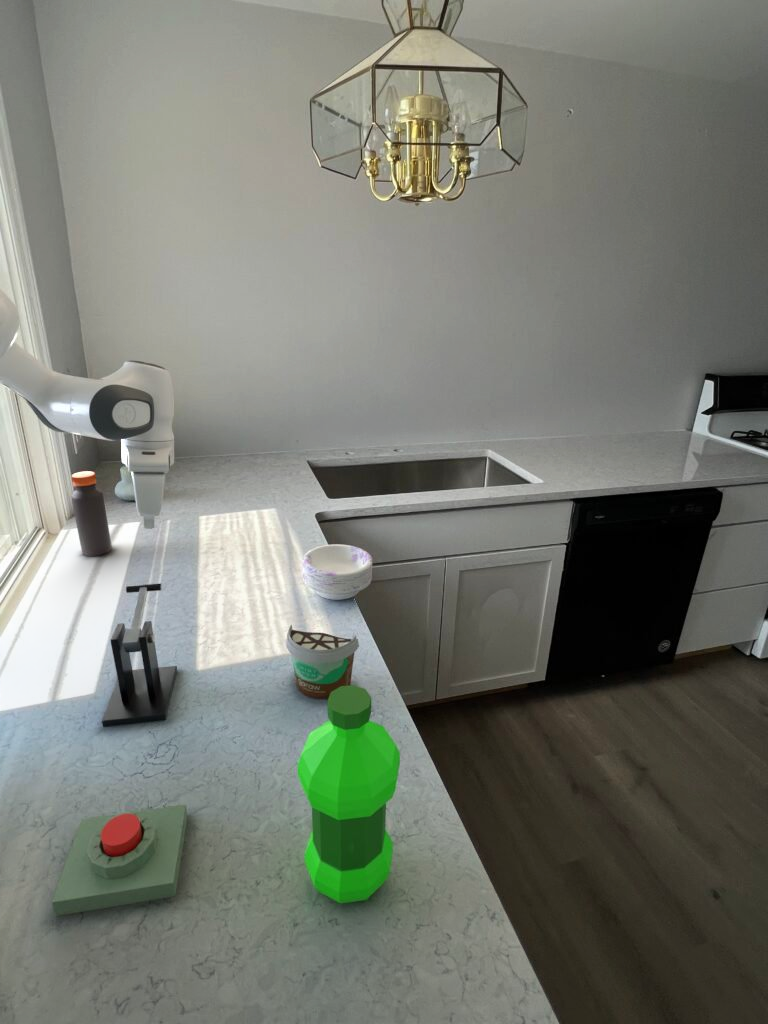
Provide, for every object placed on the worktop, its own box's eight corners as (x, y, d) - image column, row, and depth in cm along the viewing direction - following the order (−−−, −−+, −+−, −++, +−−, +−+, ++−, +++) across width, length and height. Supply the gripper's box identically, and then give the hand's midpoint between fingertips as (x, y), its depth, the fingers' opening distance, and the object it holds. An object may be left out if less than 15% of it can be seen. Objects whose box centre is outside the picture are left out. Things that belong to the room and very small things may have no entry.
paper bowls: (385, 586, 125) (386, 554, 123) (343, 615, 114) (343, 581, 111) (332, 567, 133) (332, 537, 130) (288, 593, 122) (287, 560, 119)
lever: (128, 591, 95) (126, 581, 93) (162, 589, 96) (160, 579, 94) (113, 653, 85) (110, 644, 83) (152, 650, 86) (149, 640, 84)
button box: (55, 916, 58) (48, 890, 57) (84, 831, 68) (78, 807, 66) (175, 896, 61) (171, 871, 59) (187, 817, 70) (184, 793, 68)
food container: (275, 696, 91) (272, 645, 87) (290, 673, 96) (288, 624, 93) (348, 710, 88) (348, 658, 84) (358, 685, 94) (359, 635, 90)
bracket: (122, 676, 94) (110, 611, 90) (177, 671, 96) (168, 607, 91) (102, 727, 84) (88, 656, 79) (165, 720, 85) (155, 650, 80)
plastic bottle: (292, 915, 59) (282, 731, 50) (318, 828, 69) (314, 660, 60) (385, 932, 58) (392, 747, 48) (399, 841, 67) (407, 671, 58)
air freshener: (130, 491, 179) (125, 461, 175) (155, 492, 178) (151, 462, 175) (113, 503, 168) (108, 472, 165) (140, 504, 168) (135, 473, 164)
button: (98, 859, 61) (96, 848, 60) (108, 827, 64) (106, 816, 64) (137, 853, 61) (135, 842, 61) (145, 822, 65) (143, 811, 64)
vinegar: (75, 554, 136) (60, 476, 129) (96, 543, 142) (82, 468, 135) (98, 558, 135) (83, 480, 127) (118, 547, 141) (105, 471, 133)
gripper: (130, 443, 109) (131, 511, 113) (127, 464, 91) (129, 544, 94) (165, 445, 112) (165, 511, 115) (169, 464, 93) (169, 542, 97)
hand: (149, 526), depth 105 cm, fingers closed
